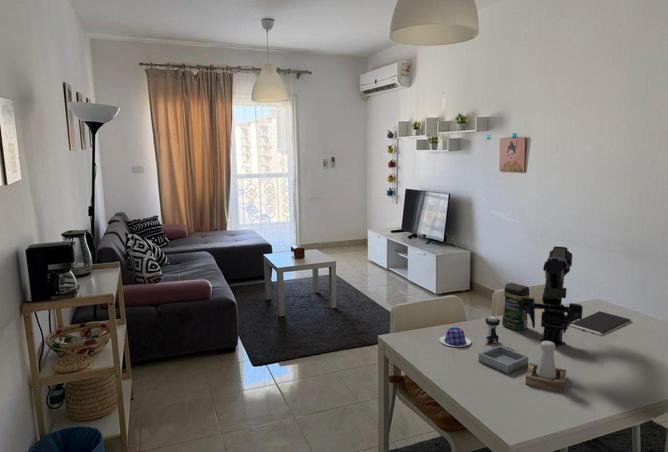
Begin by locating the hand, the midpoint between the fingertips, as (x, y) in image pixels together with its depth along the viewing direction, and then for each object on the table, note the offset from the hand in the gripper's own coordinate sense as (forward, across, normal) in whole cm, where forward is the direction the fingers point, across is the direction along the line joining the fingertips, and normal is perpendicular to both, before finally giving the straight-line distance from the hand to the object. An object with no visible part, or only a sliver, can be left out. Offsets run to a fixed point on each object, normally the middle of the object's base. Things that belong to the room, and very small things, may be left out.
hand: (548, 330), depth 152 cm
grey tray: (+11, -14, +9) cm, 20 cm away
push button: (-1, -21, +20) cm, 29 cm away
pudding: (+4, -33, +17) cm, 37 cm away
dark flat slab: (-31, +16, +50) cm, 61 cm away
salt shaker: (+16, +1, +5) cm, 16 cm away
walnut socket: (+16, +1, +5) cm, 16 cm away
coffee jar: (-16, -15, +35) cm, 41 cm away
